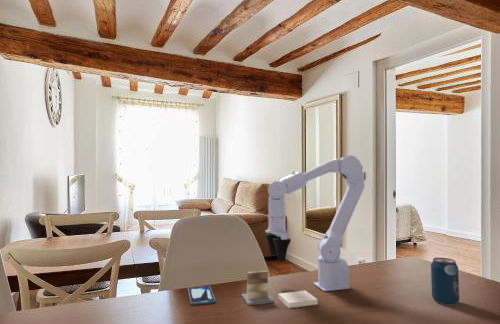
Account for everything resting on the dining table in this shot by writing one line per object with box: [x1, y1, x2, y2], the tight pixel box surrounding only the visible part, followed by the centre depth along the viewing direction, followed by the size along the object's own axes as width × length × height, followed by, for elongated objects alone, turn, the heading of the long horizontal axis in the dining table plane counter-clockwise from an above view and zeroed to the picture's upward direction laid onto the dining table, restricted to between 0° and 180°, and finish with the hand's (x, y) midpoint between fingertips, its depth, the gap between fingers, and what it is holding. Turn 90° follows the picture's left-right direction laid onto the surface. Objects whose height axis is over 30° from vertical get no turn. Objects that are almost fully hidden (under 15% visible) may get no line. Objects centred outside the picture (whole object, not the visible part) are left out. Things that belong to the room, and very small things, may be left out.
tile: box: [277, 290, 319, 309], centre depth 99 cm, size 9×2×8 cm
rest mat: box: [240, 292, 275, 306], centre depth 101 cm, size 8×8×1 cm
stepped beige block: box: [246, 269, 269, 299], centre depth 101 cm, size 6×2×8 cm, turn 104°
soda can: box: [430, 257, 460, 306], centre depth 98 cm, size 7×7×12 cm
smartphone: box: [187, 285, 216, 306], centre depth 104 cm, size 7×1×15 cm
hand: (277, 257), depth 113 cm, fingers open, 7 cm apart
